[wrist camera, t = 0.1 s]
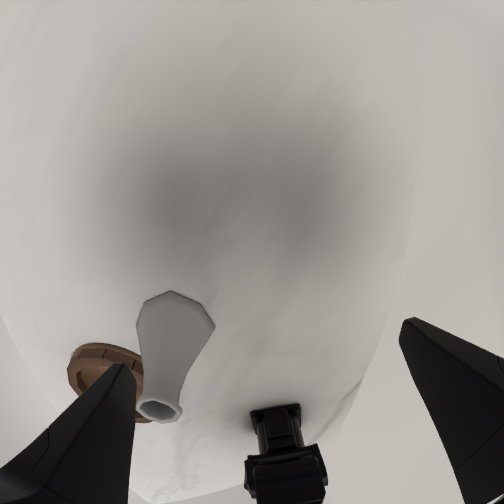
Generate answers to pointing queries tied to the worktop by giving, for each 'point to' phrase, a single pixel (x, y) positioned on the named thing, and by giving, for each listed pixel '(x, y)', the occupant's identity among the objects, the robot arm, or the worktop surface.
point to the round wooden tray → (103, 367)
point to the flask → (168, 352)
